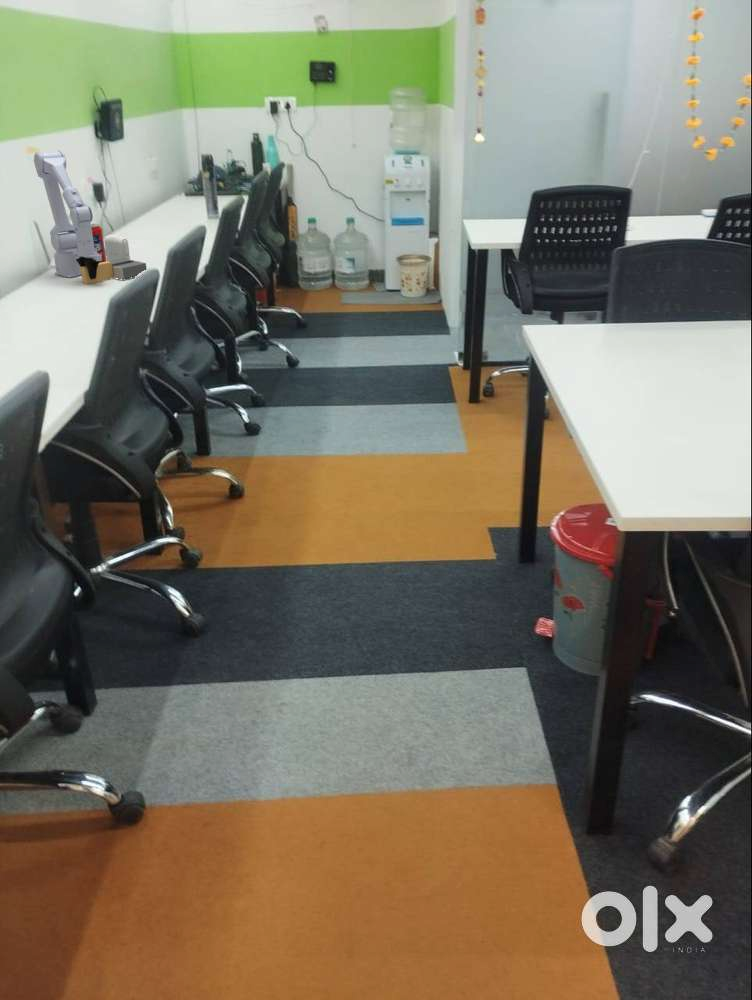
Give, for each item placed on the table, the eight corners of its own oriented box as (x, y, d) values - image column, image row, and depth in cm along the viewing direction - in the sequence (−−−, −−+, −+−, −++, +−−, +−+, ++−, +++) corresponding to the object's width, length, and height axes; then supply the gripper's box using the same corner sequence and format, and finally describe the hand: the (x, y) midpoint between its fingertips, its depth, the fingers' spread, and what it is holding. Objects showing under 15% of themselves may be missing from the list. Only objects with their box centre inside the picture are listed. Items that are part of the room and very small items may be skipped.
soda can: (109, 261, 345) (104, 223, 338) (102, 265, 338) (96, 227, 331) (91, 260, 346) (85, 223, 339) (83, 265, 339) (77, 226, 332)
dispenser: (100, 275, 324) (99, 263, 322) (125, 269, 332) (123, 258, 330) (122, 280, 317) (121, 268, 315) (147, 275, 325) (145, 263, 323)
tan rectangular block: (82, 283, 313) (80, 266, 310) (109, 277, 321) (107, 261, 318) (87, 284, 311) (84, 267, 309) (113, 278, 320) (111, 262, 317)
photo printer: (132, 267, 336) (128, 235, 331) (125, 269, 333) (120, 237, 327) (113, 264, 341) (109, 232, 335) (106, 266, 338) (101, 234, 332)
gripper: (106, 241, 306) (111, 278, 312) (82, 236, 314) (87, 273, 320) (90, 244, 301) (95, 282, 307) (65, 239, 309) (71, 276, 315)
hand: (90, 278), depth 313 cm, fingers closed on tan rectangular block, 2 cm apart
